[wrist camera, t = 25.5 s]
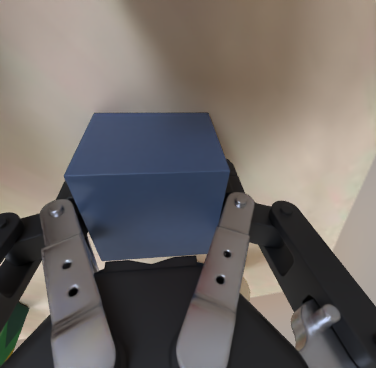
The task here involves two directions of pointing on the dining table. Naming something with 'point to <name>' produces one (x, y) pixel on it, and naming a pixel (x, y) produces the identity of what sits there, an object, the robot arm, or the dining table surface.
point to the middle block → (149, 183)
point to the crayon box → (12, 331)
